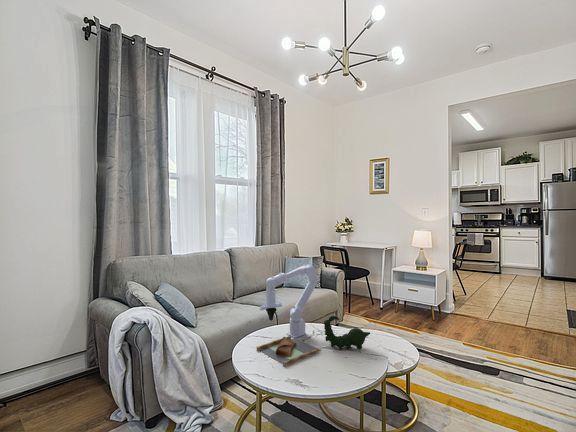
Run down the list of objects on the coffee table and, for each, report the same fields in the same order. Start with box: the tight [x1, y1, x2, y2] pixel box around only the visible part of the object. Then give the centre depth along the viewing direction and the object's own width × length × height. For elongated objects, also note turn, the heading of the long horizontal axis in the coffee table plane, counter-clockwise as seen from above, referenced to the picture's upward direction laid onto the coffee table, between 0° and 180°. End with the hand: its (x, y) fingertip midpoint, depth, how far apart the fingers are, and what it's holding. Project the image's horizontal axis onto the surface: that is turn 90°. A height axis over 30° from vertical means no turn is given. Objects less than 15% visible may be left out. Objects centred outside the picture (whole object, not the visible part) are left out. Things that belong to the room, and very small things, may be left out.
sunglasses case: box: [276, 336, 296, 357], centre depth 177 cm, size 18×7×7 cm
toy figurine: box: [323, 315, 371, 351], centre depth 179 cm, size 9×19×25 cm
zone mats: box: [258, 337, 322, 365], centre depth 176 cm, size 26×22×1 cm
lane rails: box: [256, 335, 320, 367], centre depth 175 cm, size 24×24×2 cm
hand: (271, 319), depth 197 cm, fingers closed
